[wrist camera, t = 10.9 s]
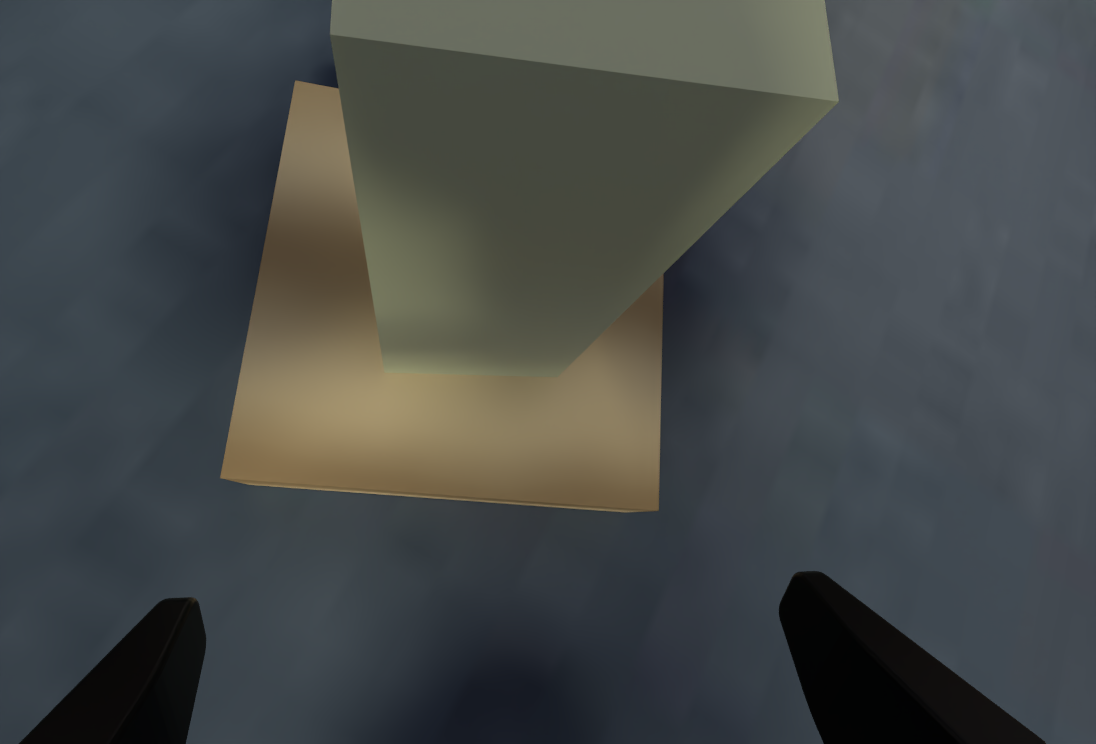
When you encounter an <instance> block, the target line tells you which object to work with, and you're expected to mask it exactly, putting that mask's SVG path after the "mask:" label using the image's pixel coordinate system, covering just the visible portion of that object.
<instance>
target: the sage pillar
mask: <svg viewBox="0 0 1096 744" xmlns="http://www.w3.org/2000/svg"><path fill="white" fill-rule="evenodd" d="M330 38H331V44H332V50H333V56H334V63H335V69H336V75H337V81H338V87H339V94H340V100H341V106H342V112H343V118H344V125H345V131H346V137H347V143H348V149H349V156H350V162H351V168H352V174H353V180H354V187H355V193H356V199H357V205H358V211H359V218H360V224H361V230H362V236H363V242H364V249H365V255H366V261H367V267H368V273H369V280H370V286H371V292H372V298H373V304H374V311H375V317H376V323H377V329H378V335H379V342H380V348H381V354H382V360H383V366H384V373H418V374H456V375H494V376H532V377H558V376H559V375H560V374H561V373H562V372H563V371H564V370H565V369H566V368H567V367H568V366H569V365H570V364H571V363H572V362H573V361H574V360H575V359H577V358H578V357H579V356H580V355H581V354H582V353H583V352H584V351H585V350H586V349H587V348H588V347H589V346H590V345H591V344H592V343H593V342H594V341H595V340H596V339H597V338H598V337H599V336H600V335H601V334H602V333H603V332H604V331H605V330H606V329H607V328H608V327H609V326H610V325H611V324H612V323H613V322H614V321H615V320H616V319H617V318H618V317H619V316H620V315H621V314H622V313H623V312H625V311H626V310H627V309H628V308H629V307H630V306H631V305H632V304H633V303H634V302H635V301H636V300H637V299H638V298H639V297H640V296H641V295H642V294H643V293H644V292H645V291H646V290H647V289H648V288H649V287H650V286H651V285H652V284H653V283H654V282H655V281H656V280H657V279H658V278H659V277H660V276H661V275H662V274H663V273H664V272H665V271H666V270H667V269H668V268H669V267H670V266H671V265H673V264H674V263H675V262H676V261H677V260H678V259H679V258H680V257H681V256H682V255H683V254H684V253H685V252H686V251H687V250H688V249H689V248H690V247H691V246H692V245H693V244H694V243H695V242H696V241H697V240H698V239H699V238H700V237H701V236H702V235H703V234H704V233H705V232H706V231H707V230H708V229H709V228H710V227H711V226H712V225H713V224H714V223H715V222H716V221H717V220H718V219H719V218H721V217H722V216H723V215H724V214H725V213H726V212H727V211H728V210H729V209H730V208H731V207H732V206H733V205H734V204H735V203H736V202H737V201H738V200H739V199H740V198H741V197H742V196H743V195H744V194H745V193H746V192H747V191H748V190H749V189H750V188H751V187H752V186H753V185H754V184H755V183H756V182H757V181H758V180H759V179H760V178H761V177H762V176H763V175H764V174H765V173H766V172H767V171H769V170H770V169H771V168H772V167H773V166H774V165H775V164H776V163H777V162H778V161H779V160H780V159H781V158H782V157H783V156H784V155H785V154H786V153H787V152H788V151H789V150H790V149H791V148H792V147H793V146H794V145H795V144H796V143H797V142H798V141H799V140H800V139H801V138H802V137H803V136H804V135H805V134H806V133H807V132H808V131H809V130H810V129H811V128H812V127H813V126H814V125H815V124H817V123H818V122H819V121H820V120H821V119H822V118H823V117H824V116H825V115H826V114H827V113H828V112H829V111H830V110H831V109H832V108H833V107H834V106H835V105H836V104H837V103H838V102H839V99H838V92H837V85H836V78H835V71H834V64H833V57H832V50H831V43H830V36H829V29H828V22H827V15H826V8H825V1H824V0H332V11H331V26H330Z"/></svg>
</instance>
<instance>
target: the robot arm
mask: <svg viewBox="0 0 1096 744" xmlns="http://www.w3.org/2000/svg"><path fill="white" fill-rule="evenodd" d="M779 617H780V621H781V624H782V627H783V630H784V633H785V637H786V640H787V643H788V646H789V649H790V652H791V655H792V658H793V661H794V664H795V667H796V670H797V674H798V677H799V680H800V683H801V686H802V689H803V692H804V695H805V698H806V701H807V704H808V706H809V709H810V712H811V714H812V717H813V719H814V722H815V724H816V727H817V729H818V731H819V734H820V736H821V738H822V740H823V743H824V744H1046V743H1045V741H1043V740H1042V739H1041V738H1039V737H1038V736H1037V735H1036V734H1034V733H1033V732H1032V731H1030V730H1029V729H1028V728H1026V727H1025V726H1024V725H1022V724H1021V723H1020V722H1018V721H1017V720H1016V719H1015V718H1013V717H1012V716H1011V715H1009V714H1008V713H1007V712H1005V711H1004V710H1003V709H1001V708H1000V707H999V706H997V705H996V704H995V703H993V702H992V701H991V700H990V699H988V698H987V697H986V696H984V695H983V694H982V693H980V692H979V691H978V690H976V689H975V688H974V687H972V686H971V685H970V684H969V683H967V682H966V681H965V680H963V679H962V678H961V677H959V676H958V675H957V674H955V673H954V672H953V671H951V670H950V669H949V668H948V667H946V666H945V665H944V664H942V663H941V662H940V661H938V660H937V659H936V658H934V657H933V656H932V655H930V654H929V653H928V652H926V651H925V650H924V649H923V648H921V647H920V646H919V645H917V644H916V643H915V642H913V641H912V640H911V639H909V638H908V637H907V636H905V635H904V634H903V633H902V632H900V631H899V630H898V629H896V628H895V627H894V626H892V625H891V624H890V623H888V622H887V621H886V620H884V619H883V618H882V617H881V616H879V615H878V614H877V613H875V612H874V611H873V610H871V609H870V608H869V607H867V606H866V605H865V604H863V603H862V602H861V601H859V600H858V599H857V598H856V597H854V596H853V595H852V594H850V593H849V592H848V591H846V590H845V589H844V588H842V587H841V586H840V585H838V584H837V583H836V582H835V581H833V580H832V579H831V578H829V577H828V576H827V575H825V574H824V573H822V572H818V571H805V572H797V573H796V574H794V575H793V577H792V579H791V581H790V583H789V585H788V587H787V589H786V591H785V594H784V596H783V598H782V600H781V602H780V605H779ZM205 650H206V633H205V629H204V624H203V620H202V615H201V611H200V606H199V603H198V601H197V600H196V599H195V598H191V597H188V598H168V599H164V600H162V601H160V602H159V603H158V604H157V605H156V606H155V607H154V608H153V609H152V610H151V611H150V612H149V613H148V614H147V615H146V616H145V617H144V618H143V619H142V620H141V621H140V622H139V623H138V624H137V625H136V626H135V627H134V628H133V629H132V630H131V631H130V632H129V633H128V634H127V635H126V636H125V637H124V638H123V639H122V640H121V641H120V642H119V643H118V644H117V645H116V646H115V647H114V648H113V649H112V650H111V651H110V652H109V653H108V654H107V655H106V656H105V657H104V658H103V659H102V660H101V661H100V662H99V663H98V664H97V665H96V666H95V667H94V668H93V669H92V670H91V671H90V672H89V673H88V674H87V675H86V676H85V677H84V678H83V679H82V680H81V681H80V682H79V683H78V684H77V685H76V686H75V687H74V688H73V689H72V690H71V691H70V692H69V693H68V694H67V696H66V697H65V698H64V699H63V700H62V701H61V702H60V703H59V704H58V705H57V706H56V707H55V708H54V709H53V710H52V711H51V712H50V713H49V714H48V715H47V716H46V717H45V718H44V719H43V720H42V721H41V722H40V723H39V724H38V725H37V726H36V727H35V728H34V729H33V730H32V731H31V732H30V733H29V734H28V735H27V736H26V737H25V738H24V739H23V740H22V741H21V742H20V743H19V744H186V740H187V735H188V730H189V726H190V721H191V716H192V712H193V707H194V702H195V698H196V693H197V688H198V684H199V679H200V674H201V670H202V665H203V660H204V656H205Z"/></svg>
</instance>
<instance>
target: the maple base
mask: <svg viewBox="0 0 1096 744" xmlns="http://www.w3.org/2000/svg"><path fill="white" fill-rule="evenodd" d="M663 276H664V273H663V274H662V275H661V276H660V277H659V278H658V279H657V280H656V281H655V282H654V283H653V284H652V285H651V286H650V287H649V288H648V289H647V290H646V291H645V292H644V293H643V294H642V295H641V296H640V297H639V298H638V299H637V300H636V301H635V302H634V303H633V304H632V305H631V306H630V307H629V308H628V309H627V310H626V311H625V312H623V313H622V314H621V315H620V316H619V317H618V318H617V319H616V320H615V321H614V322H613V323H612V324H611V325H610V326H609V327H608V328H607V329H606V330H605V331H604V332H603V333H602V334H601V335H600V336H599V337H598V338H597V339H596V340H595V341H594V342H593V343H592V344H591V345H590V346H589V347H588V348H587V349H586V350H585V351H584V352H583V353H582V354H581V355H580V356H579V357H578V358H577V359H575V360H574V361H573V362H572V363H571V364H570V365H569V366H568V367H567V368H566V369H565V370H564V371H563V372H562V373H561V374H560V375H559V376H558V377H532V376H494V375H456V374H418V373H384V366H383V360H382V354H381V348H380V342H379V335H378V329H377V323H376V317H375V311H374V304H373V298H372V292H371V286H370V280H369V273H368V267H367V261H366V255H365V249H364V242H363V236H362V230H361V224H360V218H359V211H358V205H357V199H356V193H355V187H354V180H353V174H352V168H351V162H350V156H349V149H348V143H347V137H346V131H345V125H344V118H343V112H342V106H341V100H340V94H339V89H338V88H333V87H327V86H322V85H317V84H311V83H306V82H301V81H296V80H295V85H294V90H293V95H292V101H291V106H290V111H289V117H288V122H287V127H286V133H285V138H284V143H283V148H282V154H281V159H280V164H279V170H278V175H277V180H276V186H275V191H274V196H273V201H272V207H271V212H270V217H269V223H268V228H267V233H266V238H265V244H264V249H263V254H262V260H261V265H260V270H259V276H258V281H257V286H256V291H255V297H254V302H253V307H252V313H251V318H250V323H249V329H248V334H247V339H246V344H245V350H244V355H243V360H242V366H241V371H240V376H239V382H238V387H237V392H236V397H235V403H234V408H233V413H232V419H231V424H230V429H229V435H228V440H227V445H226V450H225V456H224V461H223V466H222V472H221V477H220V478H223V479H227V480H231V481H235V482H240V483H244V484H248V485H261V486H274V487H288V488H302V489H315V490H329V491H342V492H356V493H369V494H383V495H396V496H410V497H423V498H437V499H450V500H464V501H478V502H491V503H505V504H518V505H532V506H545V507H559V508H572V509H586V510H599V511H613V512H645V511H659V467H660V419H661V371H662V324H663Z"/></svg>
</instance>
